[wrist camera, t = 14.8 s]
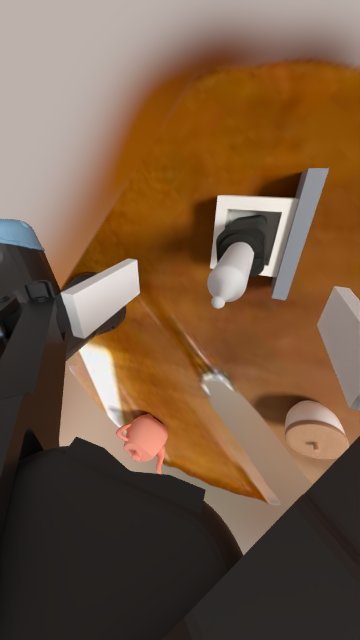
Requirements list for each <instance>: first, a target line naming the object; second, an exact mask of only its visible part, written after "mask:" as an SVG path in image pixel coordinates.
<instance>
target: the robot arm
mask: <svg viewBox="0 0 360 640" xmlns="http://www.w3.org/2000/svg"><path fill="white" fill-rule="evenodd" d="M139 293H140V290H139V278H138V265H137V260H135V259H126V260H124V261H122V262H120V263H118V264H116V265H114V266H112V267H110V268H108V269H106V270H104V271H103V272H101V273H99V274H97V273H93V272H86V273H83V274H81V275H79V276H76V277H75V278H73V279H72V280H71V282H70V283H69V284H68V285H67V286H66V287H65V289H64V290H63V291H62V292H61V290H60V288H59V286H58V284H57V281H56V279H55V277H54V274H53V272H52V270H51V267H50V265H49V263H48V260H47V258H46V255H45V253H44V248H42V246H41V244H40V242H39V240H38V238H37V236H36V234H35V232H34V230H33V229H32V227H31V226H29V225H28V224H27V223H25V222H23V221H20V220H12V219H0V640H360V436H359V437H358V438H357V439H356V440H355V441H354V442H353V444H352V445H351V446H350V447H349V448H348V449H347V450H346V451H345V452H344V453H343V454H342V455H341V456H340V457H339V458H338V459H337V460H336V461H335V462H334V463H333V464H332V465H331V467H330V468H329V469H328V470H327V471H326V472H325V473H324V474H323V475H322V476H321V477H320V478H319V479H318V480H317V481H316V482H315V483H314V484H313V485H312V486H311V488H309V490H308V491H307V492H306V493H305V494H303V495H302V496H301V497H300V498H299V499H298V500H297V501H296V502H295V503H294V504H293V505H292V506H291V507H290V508H289V509H288V510H287V511H286V512H285V513H284V514H283V515H282V516H281V517H280V518H279V519H278V520H277V521H276V522H275V524H273V526H272V527H271V528H270V529H269V530H268V531H267V532H266V533H265V534H264V535H263V536H262V537H261V538H260V539H259V540H258V541H257V542H256V543H255V544H254V545H253V546H252V547H251V548H250V550H249V551H248V552H247V553H246V554H245V555H244V556H243V554H242V552H241V549H240V547H239V546H238V543H237V541H236V540H235V538H234V536H233V534H232V533H231V531H230V530H229V528H228V526H227V525H226V524H225V522H224V521H223V520H222V518H221V517H220V516H219V515H218V514H217V513H216V511H214V509H213V508H212V507H211V506H209V505H208V504H207V503H206V502H205V501H203V500H204V494H205V489H202V488H200V487H197V486H195V485H193V484H190V483H188V482H185V481H183V480H180V479H178V478H176V477H173V476H171V475H164V474H153V473H142V472H132V471H130V470H128V469H127V468H126V467H125V466H124V465H122V464H121V463H120V462H119V461H118V460H117V459H116V458H115V457H113V456H112V455H111V454H110V453H109V452H108V451H107V450H106V449H105V448H103V447H100V446H98V445H95V444H93V443H91V442H88V441H86V440H83V439H81V438H78V437H76V438H75V439H74V441H73V442H72V443H71V444H70V446H62V447H59V432H60V431H59V430H60V419H61V409H62V397H63V386H64V375H65V362H66V361H67V360H68V359H69V358H70V357H71V356H72V355H74V354H75V353H76V352H77V351H78V350H79V349H81V348H82V347H83V346H84V345H85V344H86V343H88V342H89V341H90V340H91V339H92V338H93V337H95V336H97V335H100V334H103V333H106V332H108V331H111V330H113V329H115V328H116V327H117V326H119V325H120V324H121V323H122V322H123V320H124V318H125V314H126V307H125V305H126V304H127V303H128V302H130V301H131V300H132V299H133V298H134V297H136V296H137V295H138V294H139ZM317 326H318V329H319V331H320V334H321V337H322V339H323V342H324V344H325V347H326V350H327V352H328V355H329V357H330V360H331V363H332V365H333V368H334V370H335V373H336V376H337V378H338V381H339V383H340V386H341V389H342V391H343V394H344V396H345V399H346V401H347V404H348V407H349V408H350V409H354V410H358V411H360V300H359V299H358V298H357V297H356V296H355V295H354V293H353V292H352V291H351V290H350V289H349V288H344V287H336V286H334V288H333V290H332V292H331V295H330V297H329V299H328V301H327V303H326V306H325V308H324V310H323V312H322V315H321V317H320V319H319V321H318V324H317Z"/></svg>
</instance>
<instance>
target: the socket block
mask: <svg viewBox="0 0 360 640" xmlns="http://www.w3.org/2000/svg"><path fill="white" fill-rule="evenodd" d="M298 201H299V199H297V198H289V197H265V196H240V195H219V196H218V198H217V207H216V217H215V226H214V236H213V245H212V255H211V264H210V268H212V269H214V268H215V266H216V265H217V252H216V239H217V237H218V235H219V234H220V233H221V232H222V231H224V230H225V229H226V228H227V227H228V226H229V225H230V224H231V223H232V222H233V221H234V220H236V219H237V218H239V217H246V216H254V215H263V216H265V217H266V219H267V234H266V241H267V242H266V255H265V266H264V270H263V271H262V273H261V274H259V275H263V276H270V277H277V275H278V271H279V268H280V264H281V261H282V257H283V254H284V250H285V246H286V243H287V239H288V236H289V232H290V229H291V225H292V222H293V218H294V215H295V211H296V208H297V204H298Z"/></svg>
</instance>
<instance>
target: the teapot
mask: <svg viewBox="0 0 360 640" xmlns="http://www.w3.org/2000/svg"><path fill="white" fill-rule="evenodd" d="M127 428H128V431H127V434H126V437H125V436H124V435H123V434H122V433H123V431H124V430H126V429H127ZM116 435H117V436H118V437H119V438H121V439H122V440H124V441H125V444H124V449H125V451H127V452H128V453H129V454H130V455H131V457H132V458H133V459H134V460H136V461H141V462H146V461H149V460H151V459H152V458H153V457H154V456H155V455H156V454H157V456H158V460H157V466H156V467H157V472H158V474H162V471H161V466H162V462H163V459H164V456H165V446H164V444H165V442H166V440H167V437H168V432H167V429H166V426H165V425H164V424H161V423H160V422H159V421H157V420H156V419H155V418H153V416H152V415H151V414H150V413H147V415H141V416H139V417H137V418H136V419H134V420H133V421H132V422H131V423H130V424H127V425H124V426H122V427H120V428H119V429H118V430H117V432H116Z"/></svg>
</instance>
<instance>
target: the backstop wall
mask: <svg viewBox="0 0 360 640" xmlns="http://www.w3.org/2000/svg"><path fill="white" fill-rule="evenodd" d="M328 170H329V168H308V169H307V170H305V171H303V172H302V174H301V177H300V181H299V185H298V188H297V192H296V196H295V198H297V199H299V201H298V204H297V208H296V211H295V215H294V218H293V222H292V225H291V229H290V232H289V236H288V239H287V243H286V246H285V250H284V254H283V257H282V261H281V264H280V268H279V271H278V275H277V277H273V279H272V283H271V296H272V298H275V299H281V300H286V298H287V295H288V292H289V289H290V286H291V283H292V280H293V277H294V274H295V271H296V268H297V265H298V262H299V259H300V256H301V252H302V249H303V246H304V243H305V240H306V237H307V234H308V231H309V228H310V225H311V222H312V219H313V216H314V213H315V210H316V207H317V204H318V201H319V198H320V195H321V192H322V189H323V186H324V183H325V180H326V177H327V173H328Z"/></svg>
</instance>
